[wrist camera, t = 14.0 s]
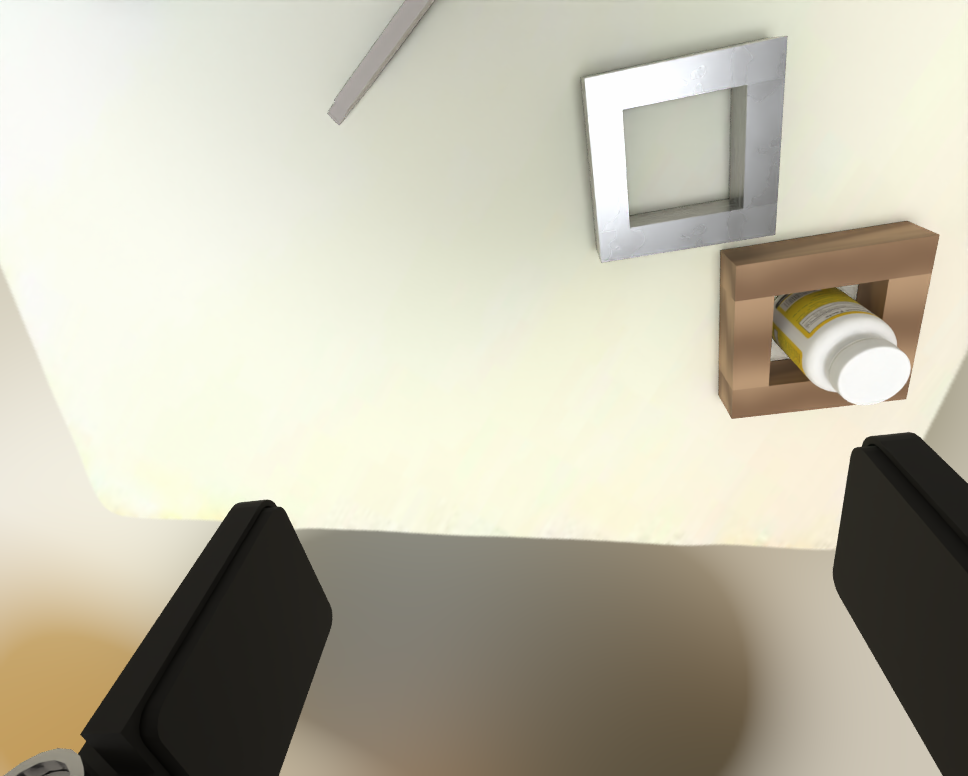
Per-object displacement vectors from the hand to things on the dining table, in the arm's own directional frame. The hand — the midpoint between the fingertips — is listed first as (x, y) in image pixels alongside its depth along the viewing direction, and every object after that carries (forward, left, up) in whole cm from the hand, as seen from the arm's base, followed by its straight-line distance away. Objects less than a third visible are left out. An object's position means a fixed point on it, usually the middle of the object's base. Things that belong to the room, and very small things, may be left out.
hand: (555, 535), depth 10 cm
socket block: (0, +9, -33) cm, 34 cm away
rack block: (+13, +18, -33) cm, 40 cm away
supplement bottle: (+13, +18, -34) cm, 40 cm away
